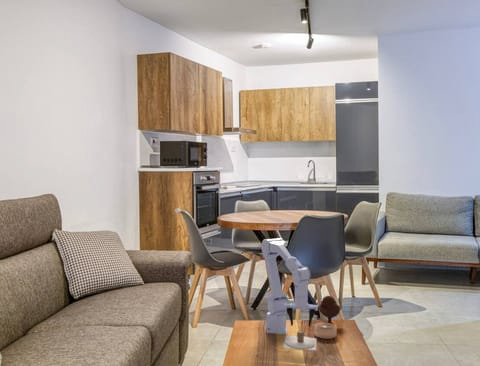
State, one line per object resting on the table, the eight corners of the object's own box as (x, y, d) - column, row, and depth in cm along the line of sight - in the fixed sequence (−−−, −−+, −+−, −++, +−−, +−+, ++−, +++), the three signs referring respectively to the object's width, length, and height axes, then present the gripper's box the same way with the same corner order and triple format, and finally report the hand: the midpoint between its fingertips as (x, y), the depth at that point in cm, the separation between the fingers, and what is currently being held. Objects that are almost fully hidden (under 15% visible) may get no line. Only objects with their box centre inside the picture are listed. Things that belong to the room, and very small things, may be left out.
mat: (283, 349, 213) (283, 347, 213) (285, 337, 227) (285, 336, 227) (316, 351, 211) (316, 350, 211) (316, 339, 225) (316, 338, 225)
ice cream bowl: (342, 329, 238) (343, 298, 237) (319, 329, 238) (320, 298, 238) (339, 321, 249) (339, 292, 248) (316, 321, 249) (317, 292, 248)
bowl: (314, 340, 224) (314, 329, 224) (314, 332, 234) (314, 321, 234) (336, 341, 222) (337, 330, 222) (336, 333, 232) (336, 323, 232)
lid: (284, 347, 214) (284, 336, 214) (286, 336, 227) (286, 326, 226) (314, 349, 212) (315, 338, 211) (315, 338, 224) (315, 328, 224)
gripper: (284, 296, 215) (283, 327, 216) (317, 298, 213) (317, 329, 214) (285, 292, 222) (284, 322, 223) (317, 294, 220) (317, 324, 221)
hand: (300, 325), depth 219 cm, fingers open, 7 cm apart
